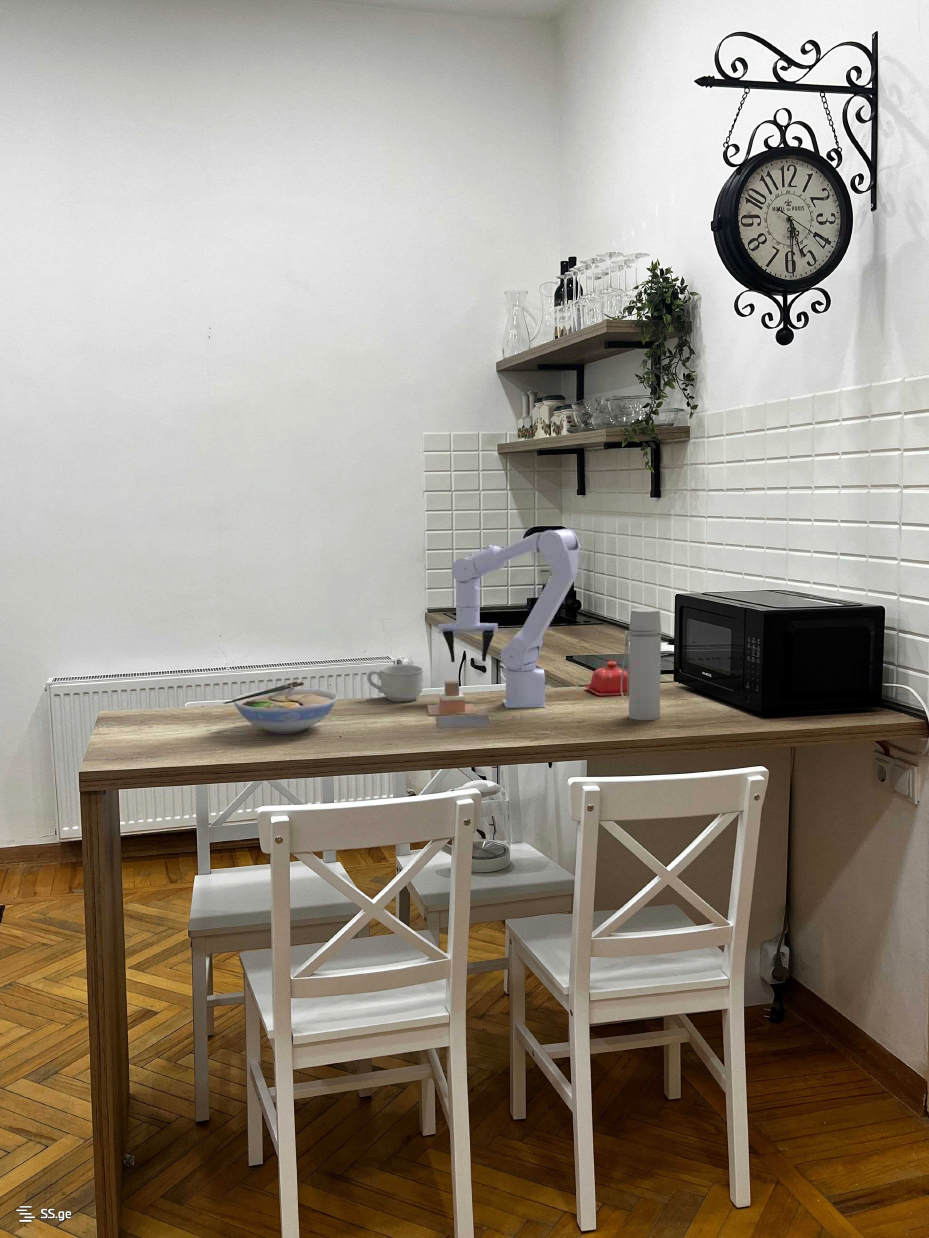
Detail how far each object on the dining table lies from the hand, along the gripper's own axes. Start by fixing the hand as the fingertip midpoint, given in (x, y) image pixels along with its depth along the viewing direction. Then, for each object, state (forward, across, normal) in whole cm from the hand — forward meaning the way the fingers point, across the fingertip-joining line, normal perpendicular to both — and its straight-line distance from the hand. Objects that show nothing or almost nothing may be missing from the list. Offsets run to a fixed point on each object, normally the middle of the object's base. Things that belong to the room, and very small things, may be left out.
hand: (468, 661), depth 264 cm
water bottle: (+10, -37, +26) cm, 46 cm away
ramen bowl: (+10, +42, +28) cm, 52 cm away
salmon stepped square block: (+10, +5, +12) cm, 16 cm away
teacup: (+10, +18, -4) cm, 21 cm away
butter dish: (+10, -37, -5) cm, 39 cm away
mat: (+10, +3, +25) cm, 27 cm away
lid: (+6, +5, +14) cm, 16 cm away
